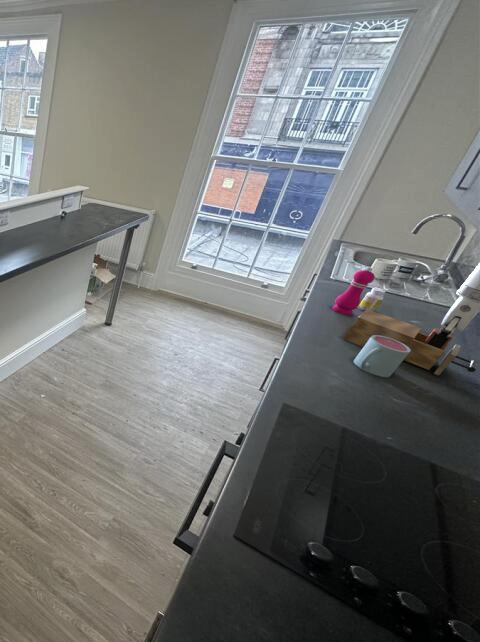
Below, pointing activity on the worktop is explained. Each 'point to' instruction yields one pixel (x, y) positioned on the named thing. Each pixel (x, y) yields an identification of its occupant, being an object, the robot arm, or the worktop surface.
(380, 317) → the cabinet
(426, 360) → the drawer
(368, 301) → the supplement bottle
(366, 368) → the mug
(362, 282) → the pepper mill
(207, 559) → the worktop surface
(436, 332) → the block
